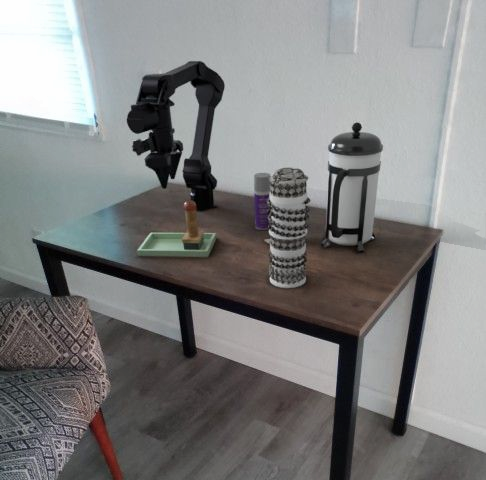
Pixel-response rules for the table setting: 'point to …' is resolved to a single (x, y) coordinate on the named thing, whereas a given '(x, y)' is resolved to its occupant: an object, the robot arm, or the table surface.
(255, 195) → the container
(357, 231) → the coffee press
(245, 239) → the table surface
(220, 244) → the table surface
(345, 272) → the table surface
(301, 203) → the decorative candle
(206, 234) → the tray
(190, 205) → the wooden rubber stamp
